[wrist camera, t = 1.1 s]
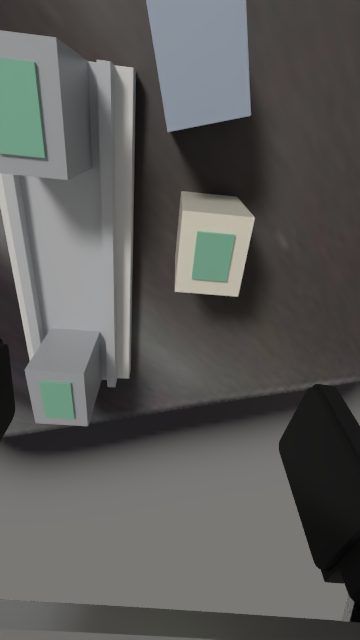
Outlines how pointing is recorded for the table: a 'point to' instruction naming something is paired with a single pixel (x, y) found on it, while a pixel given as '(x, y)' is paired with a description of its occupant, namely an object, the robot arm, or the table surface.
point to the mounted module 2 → (65, 377)
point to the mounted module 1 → (43, 108)
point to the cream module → (211, 244)
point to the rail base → (81, 232)
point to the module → (201, 60)
